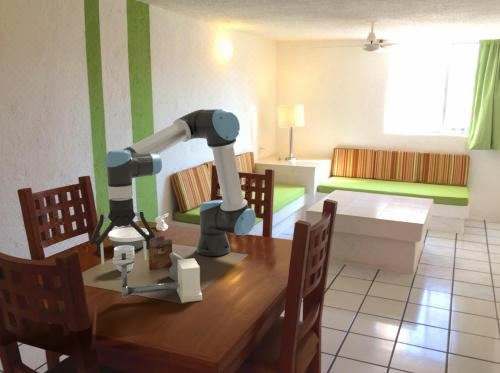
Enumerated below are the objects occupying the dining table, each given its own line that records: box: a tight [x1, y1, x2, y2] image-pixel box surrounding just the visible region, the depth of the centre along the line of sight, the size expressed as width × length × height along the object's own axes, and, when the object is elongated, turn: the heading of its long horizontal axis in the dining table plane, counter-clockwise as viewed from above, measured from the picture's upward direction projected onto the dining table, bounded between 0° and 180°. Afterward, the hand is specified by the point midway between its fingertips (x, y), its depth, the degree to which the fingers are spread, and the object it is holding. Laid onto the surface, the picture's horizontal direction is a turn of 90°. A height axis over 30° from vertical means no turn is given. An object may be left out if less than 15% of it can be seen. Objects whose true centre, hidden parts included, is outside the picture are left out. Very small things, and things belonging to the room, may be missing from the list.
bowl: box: [107, 226, 149, 251], centre depth 211 cm, size 19×19×8 cm
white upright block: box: [176, 257, 203, 304], centre depth 159 cm, size 7×12×11 cm, turn 18°
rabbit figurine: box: [154, 212, 169, 232], centre depth 243 cm, size 12×8×10 cm, turn 24°
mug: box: [113, 245, 135, 273], centre depth 182 cm, size 11×8×9 cm
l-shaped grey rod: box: [112, 253, 180, 298], centre depth 154 cm, size 22×7×16 cm, turn 108°
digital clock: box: [168, 252, 185, 282], centre depth 175 cm, size 14×8×9 cm, turn 23°
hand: (124, 261), depth 151 cm, fingers open, 13 cm apart
